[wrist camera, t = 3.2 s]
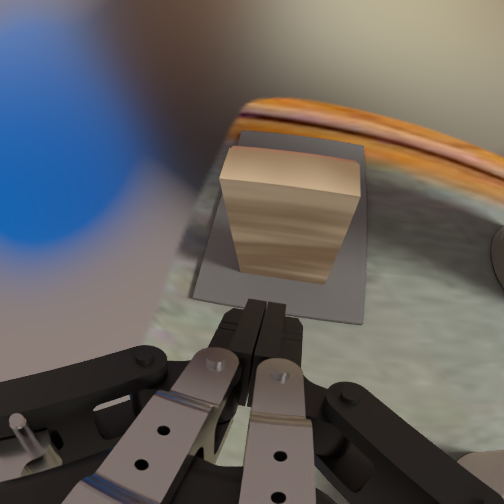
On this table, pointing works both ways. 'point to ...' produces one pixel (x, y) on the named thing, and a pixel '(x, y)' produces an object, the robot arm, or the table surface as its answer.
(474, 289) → the table surface
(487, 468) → the dixie cup
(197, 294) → the rubber mat
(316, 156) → the maple block
